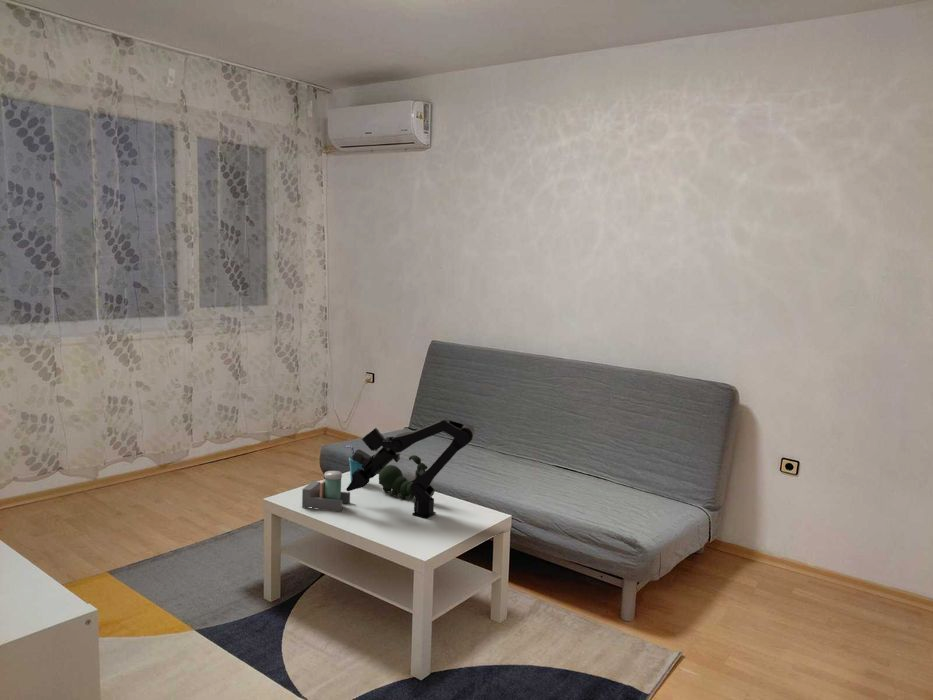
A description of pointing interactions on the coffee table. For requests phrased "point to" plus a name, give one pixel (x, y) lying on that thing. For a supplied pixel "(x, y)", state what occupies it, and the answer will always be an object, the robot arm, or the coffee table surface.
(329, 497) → the jar
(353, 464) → the cup
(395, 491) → the toy figurine
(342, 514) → the coffee table surface
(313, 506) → the pusher lane
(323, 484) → the pusher plate
